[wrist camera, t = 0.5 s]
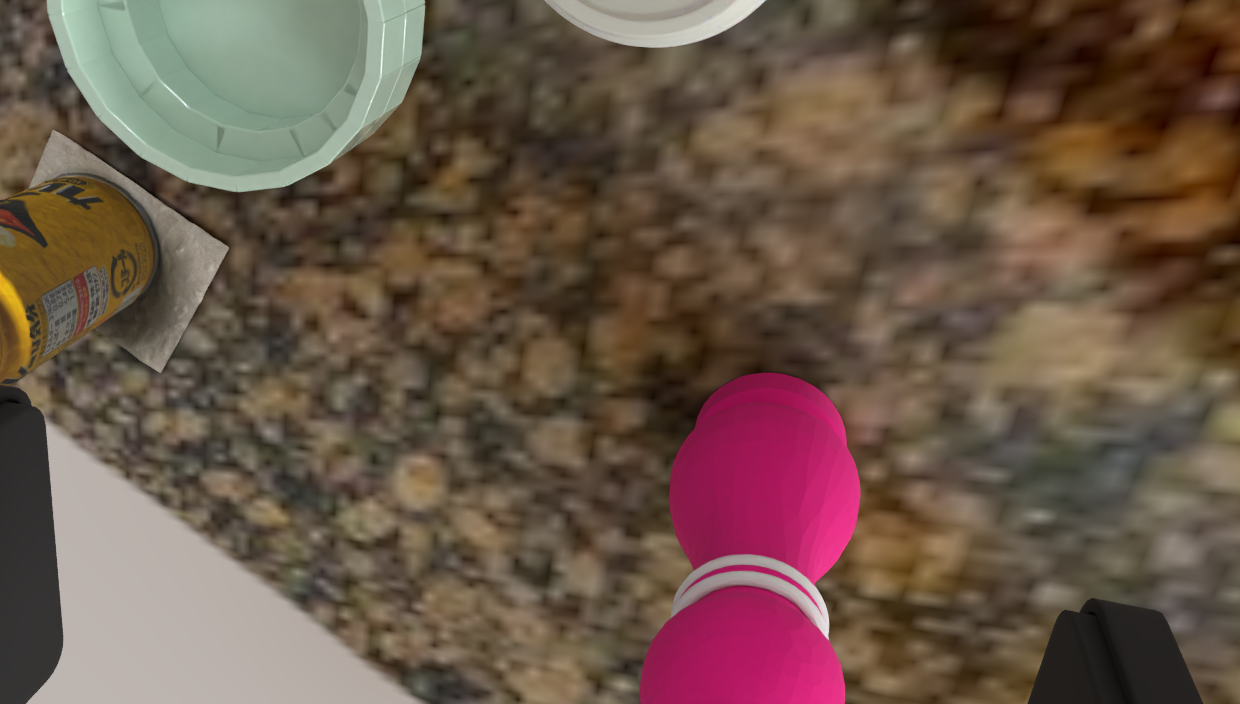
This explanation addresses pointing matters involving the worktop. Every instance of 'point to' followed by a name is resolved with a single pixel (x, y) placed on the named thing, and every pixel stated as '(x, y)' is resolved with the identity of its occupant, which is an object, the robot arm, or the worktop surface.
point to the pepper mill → (756, 549)
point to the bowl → (240, 79)
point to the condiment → (95, 264)
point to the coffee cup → (654, 19)
